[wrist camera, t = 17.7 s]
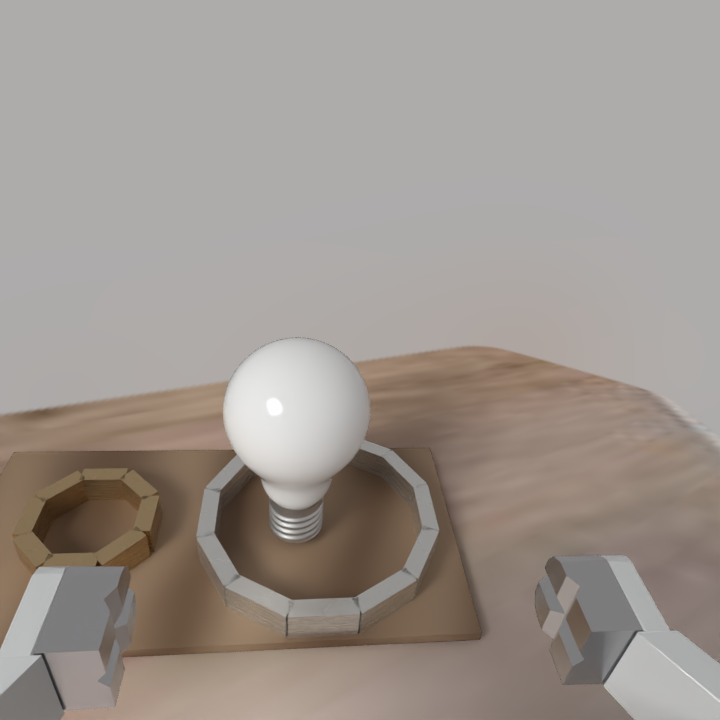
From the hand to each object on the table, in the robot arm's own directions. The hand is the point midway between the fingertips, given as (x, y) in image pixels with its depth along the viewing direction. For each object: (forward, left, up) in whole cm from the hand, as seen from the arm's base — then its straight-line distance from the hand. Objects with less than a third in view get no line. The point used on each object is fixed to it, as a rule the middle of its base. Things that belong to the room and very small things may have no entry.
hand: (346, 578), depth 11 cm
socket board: (-5, +13, -15) cm, 20 cm away
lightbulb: (-1, +13, -14) cm, 19 cm away
